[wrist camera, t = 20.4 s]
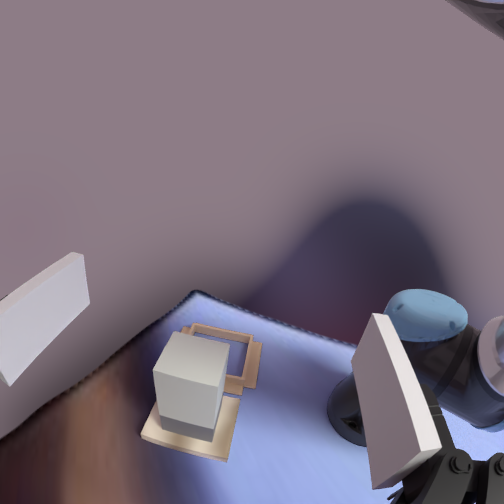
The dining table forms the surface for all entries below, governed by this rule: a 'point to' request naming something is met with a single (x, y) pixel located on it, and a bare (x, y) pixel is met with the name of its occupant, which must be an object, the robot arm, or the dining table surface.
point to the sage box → (191, 385)
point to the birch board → (191, 445)
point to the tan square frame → (251, 362)
